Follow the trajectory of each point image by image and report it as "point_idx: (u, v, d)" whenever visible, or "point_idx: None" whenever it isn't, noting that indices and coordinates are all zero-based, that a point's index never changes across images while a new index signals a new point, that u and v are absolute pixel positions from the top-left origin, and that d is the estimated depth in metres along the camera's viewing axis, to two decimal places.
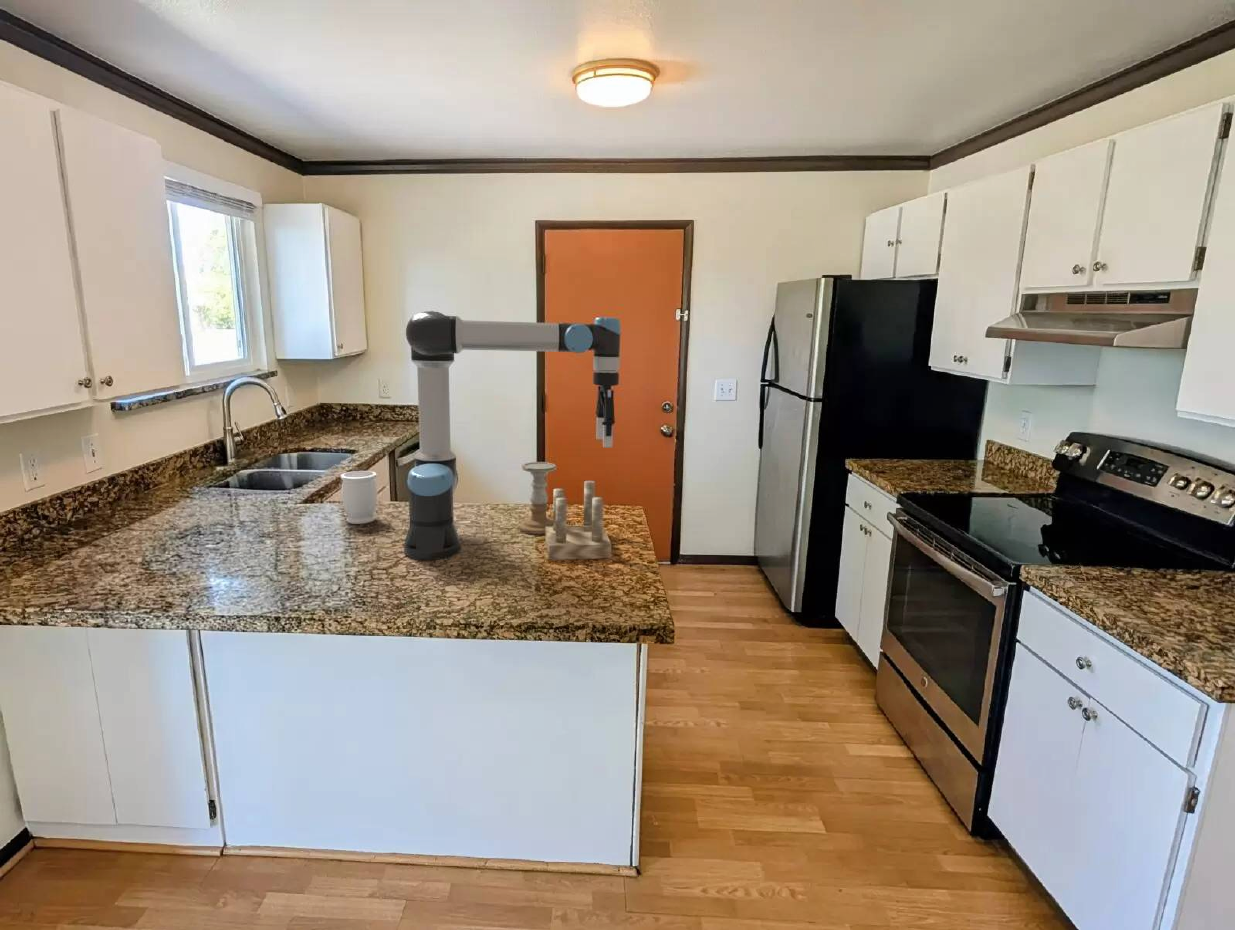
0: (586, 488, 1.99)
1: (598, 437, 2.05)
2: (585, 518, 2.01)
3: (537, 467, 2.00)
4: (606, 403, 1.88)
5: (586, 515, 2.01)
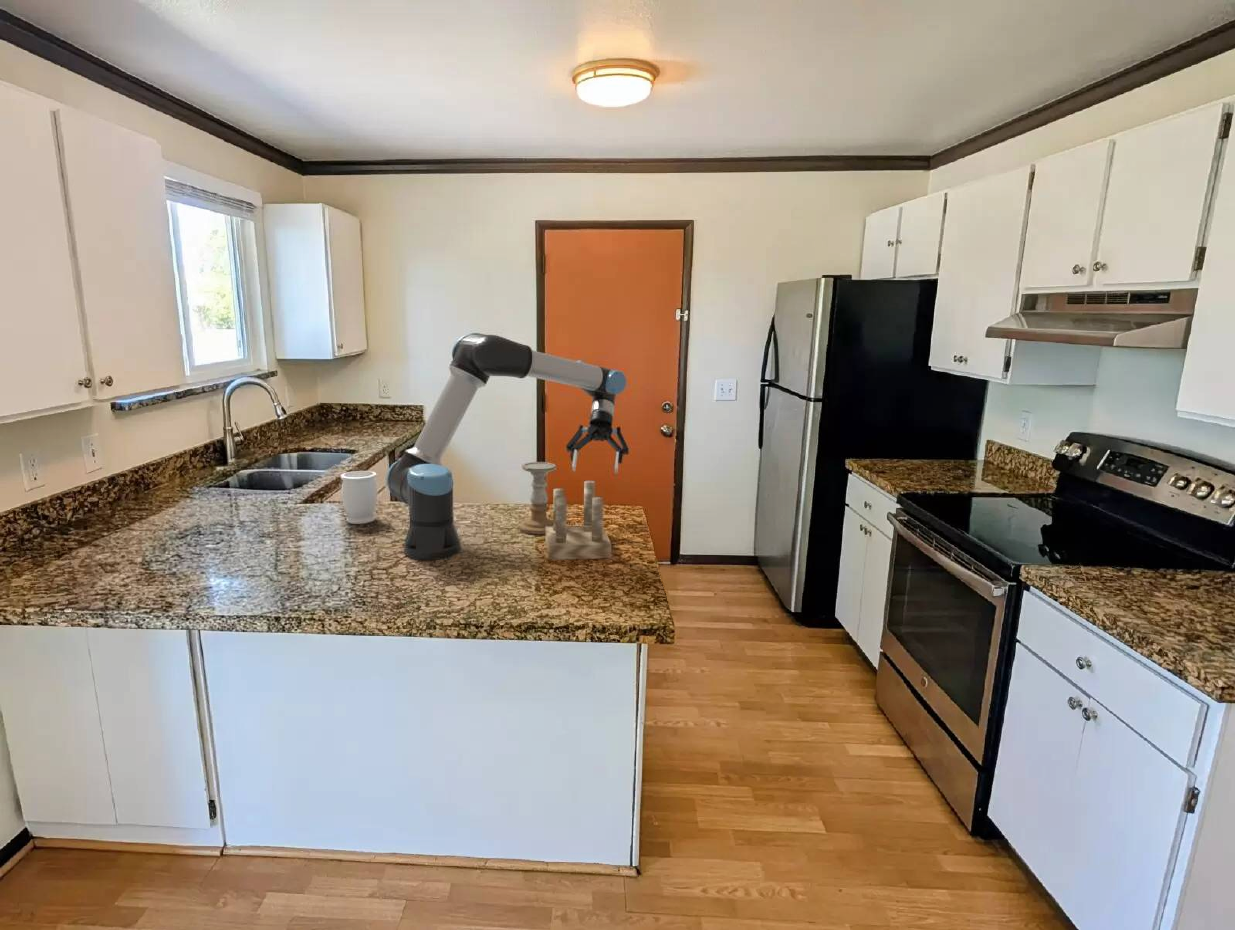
0: (586, 488, 1.99)
1: (574, 466, 2.11)
2: (585, 518, 2.01)
3: (537, 467, 2.00)
4: None
5: (586, 515, 2.01)
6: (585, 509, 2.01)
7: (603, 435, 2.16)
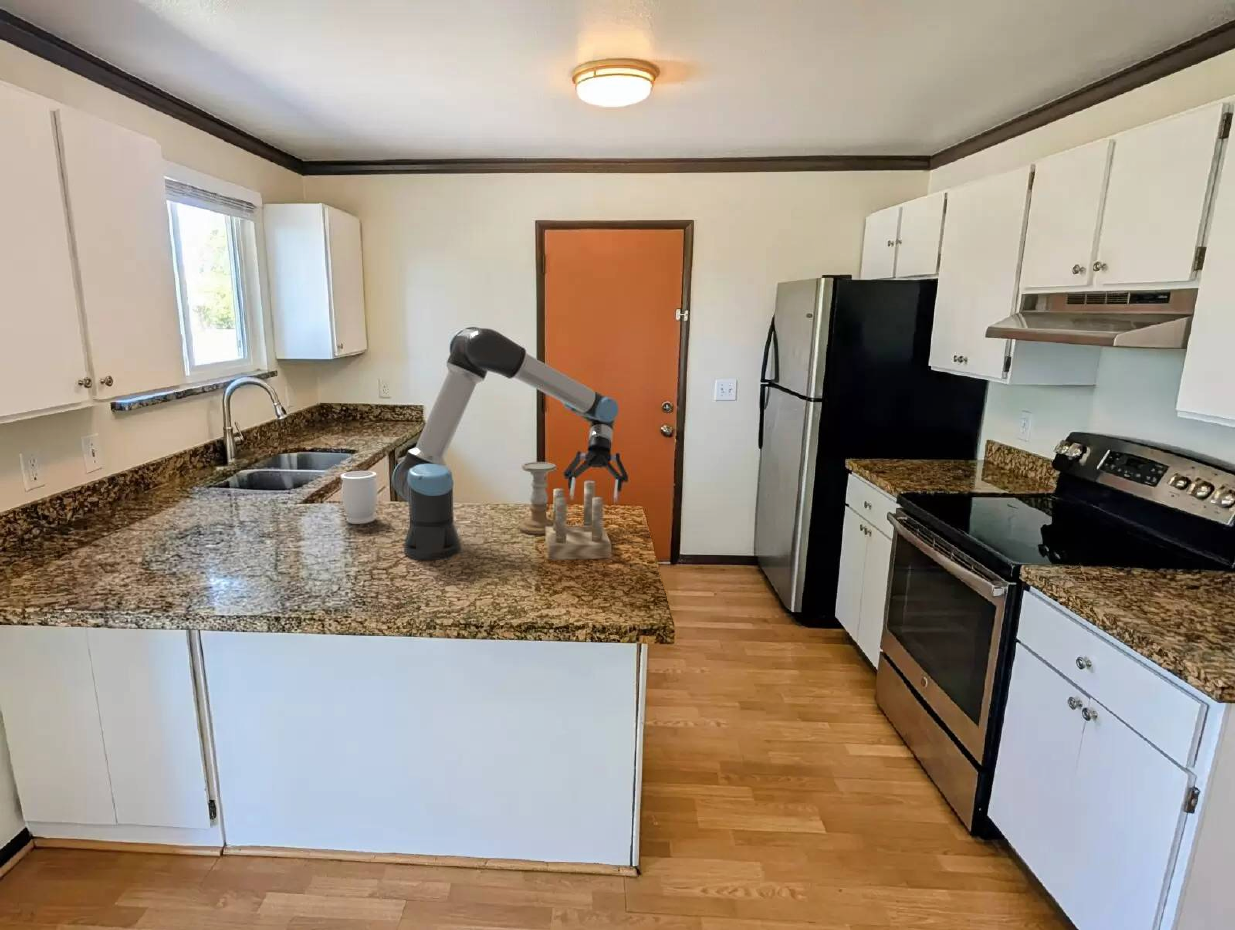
0: (586, 488, 1.99)
1: (572, 494, 2.04)
2: (585, 518, 2.01)
3: (537, 467, 2.00)
4: None
5: (586, 515, 2.01)
6: (585, 509, 2.01)
7: (602, 462, 2.10)
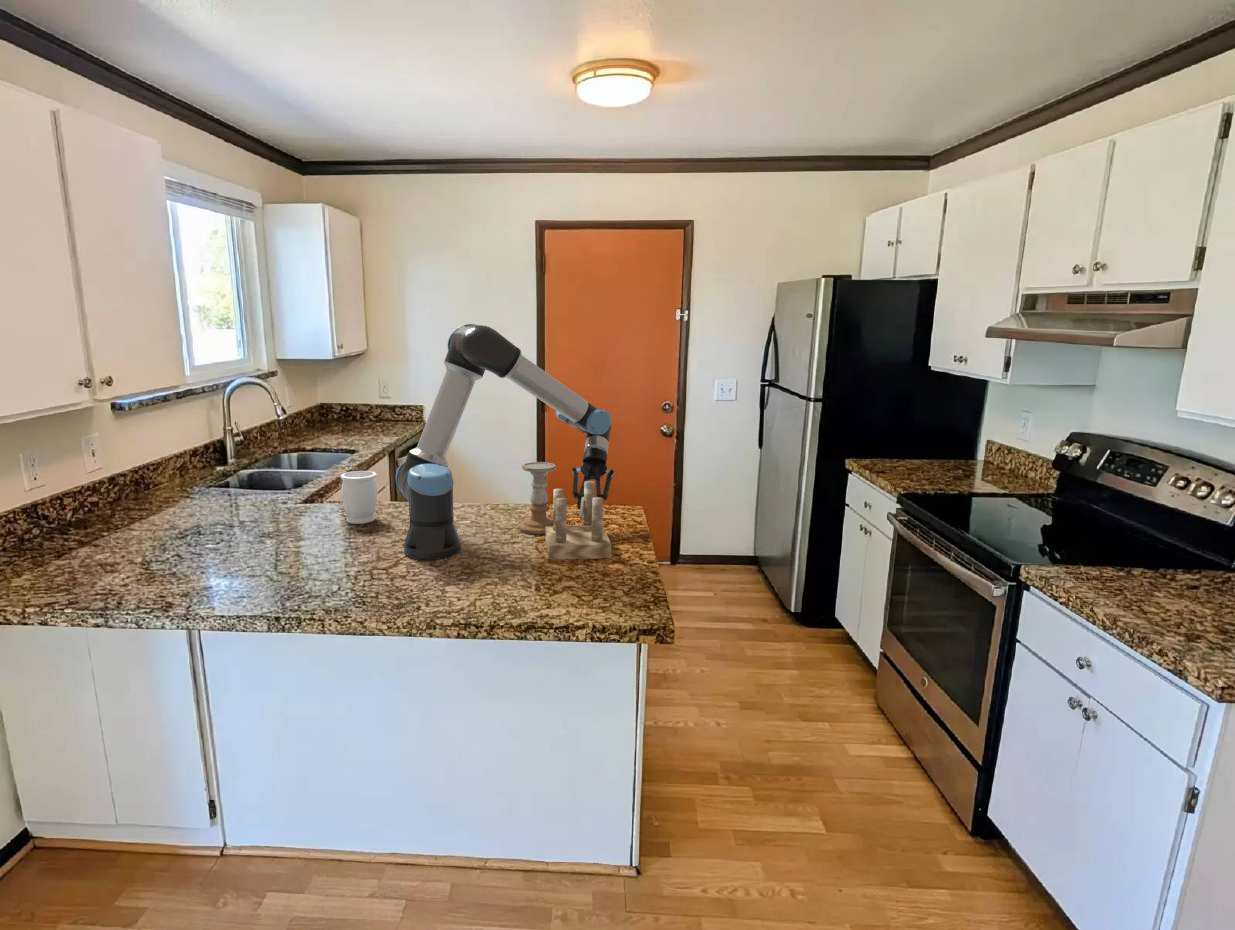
0: (586, 488, 1.99)
1: (581, 515, 1.98)
2: (585, 518, 2.01)
3: (537, 467, 2.00)
4: (610, 481, 2.04)
5: (586, 515, 2.01)
6: (585, 509, 2.01)
7: None
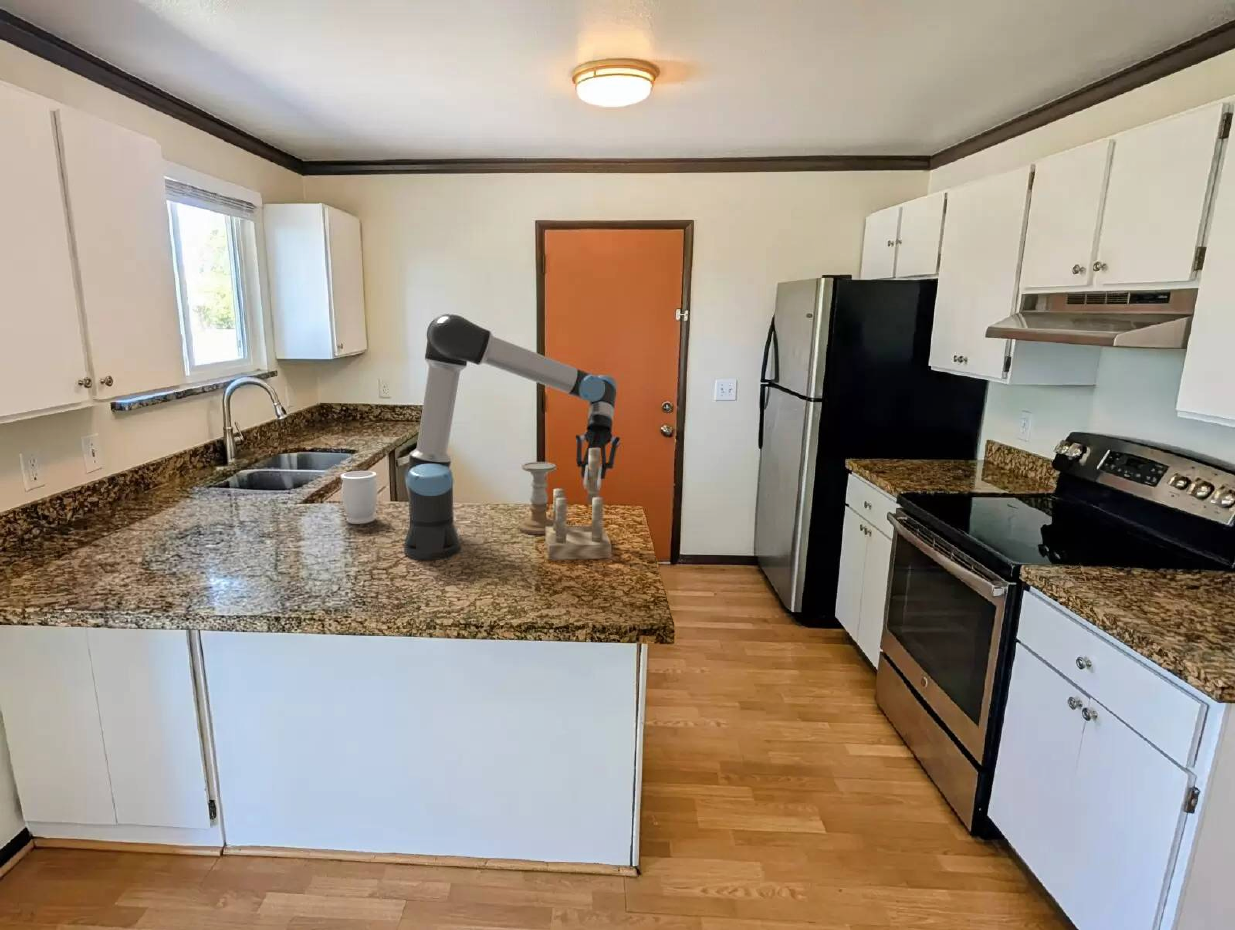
0: (590, 455, 1.89)
1: (586, 483, 1.88)
2: (589, 487, 1.91)
3: (537, 467, 2.00)
4: (615, 448, 1.94)
5: (590, 484, 1.90)
6: (589, 478, 1.90)
7: None
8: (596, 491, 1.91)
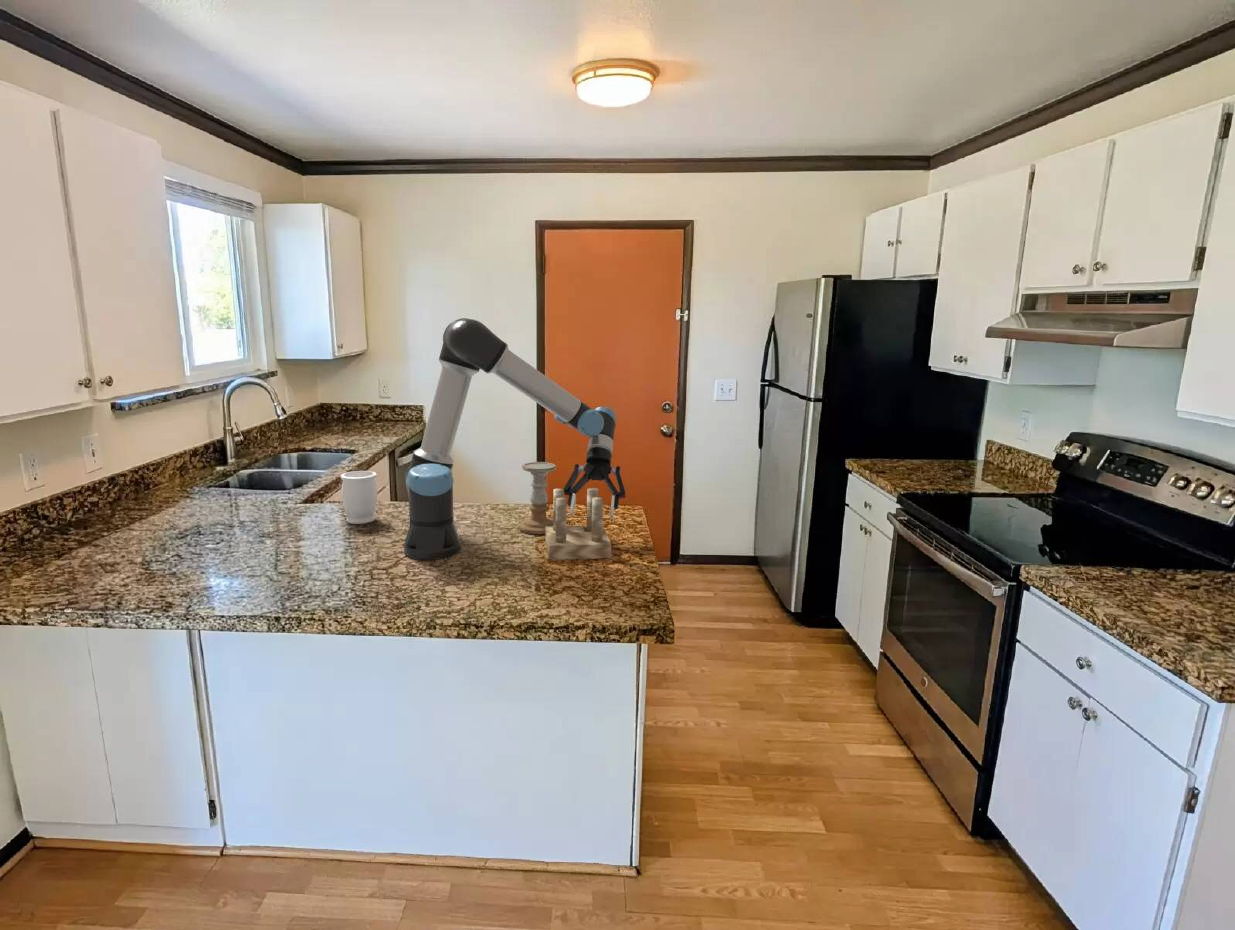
0: (589, 496, 1.91)
1: (572, 512, 1.90)
2: (588, 527, 1.93)
3: (537, 467, 2.00)
4: (620, 477, 1.96)
5: (589, 524, 1.92)
6: (588, 518, 1.92)
7: (601, 474, 1.97)
8: None
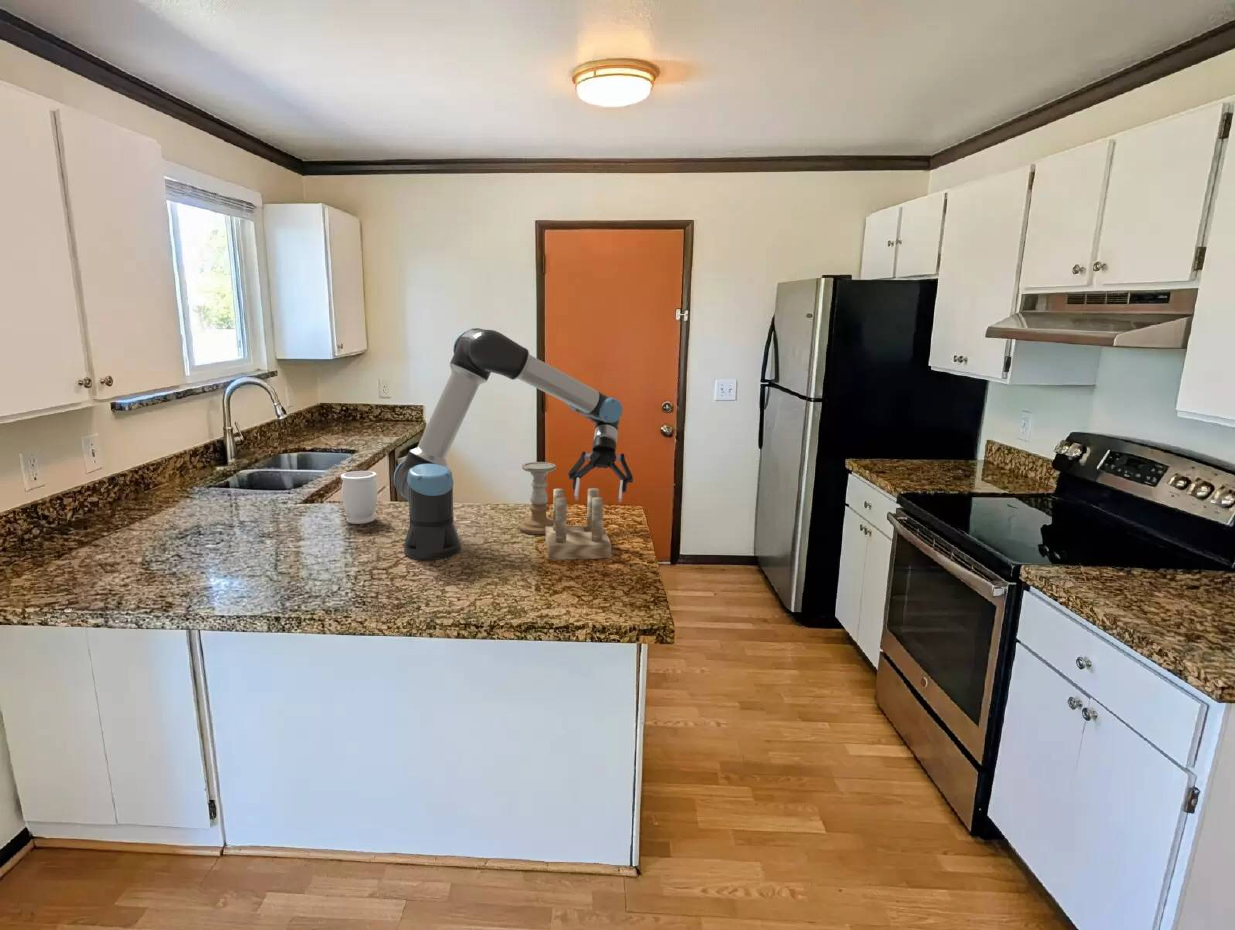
0: (589, 496, 1.91)
1: (577, 495, 2.03)
2: (588, 527, 1.93)
3: (537, 467, 2.00)
4: None
5: (589, 524, 1.92)
6: (588, 518, 1.92)
7: (606, 462, 2.09)
8: None
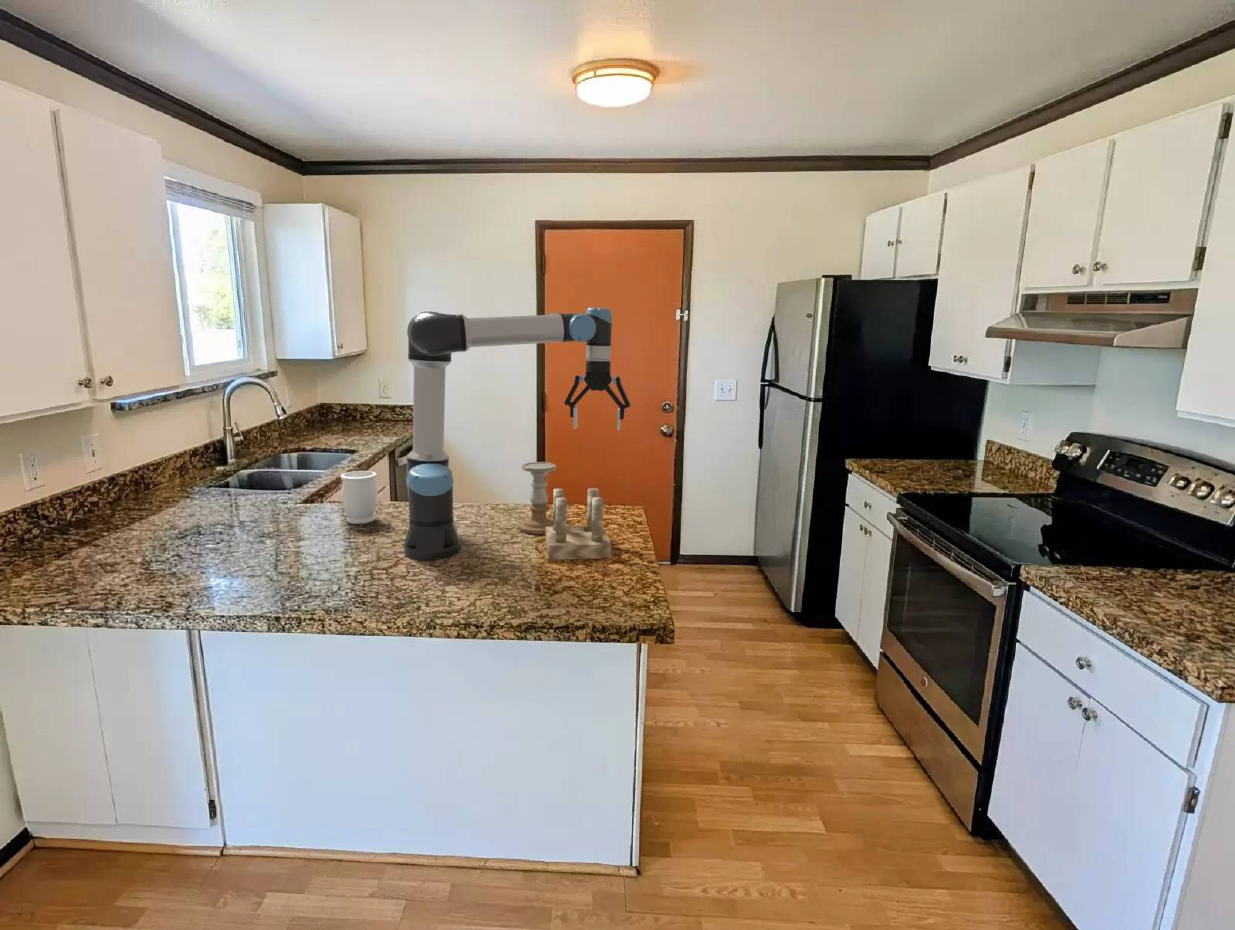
0: (589, 496, 1.91)
1: (575, 426, 2.06)
2: (588, 527, 1.93)
3: (537, 467, 2.00)
4: (622, 389, 2.02)
5: (589, 524, 1.92)
6: (588, 518, 1.92)
7: (602, 388, 2.02)
8: None
